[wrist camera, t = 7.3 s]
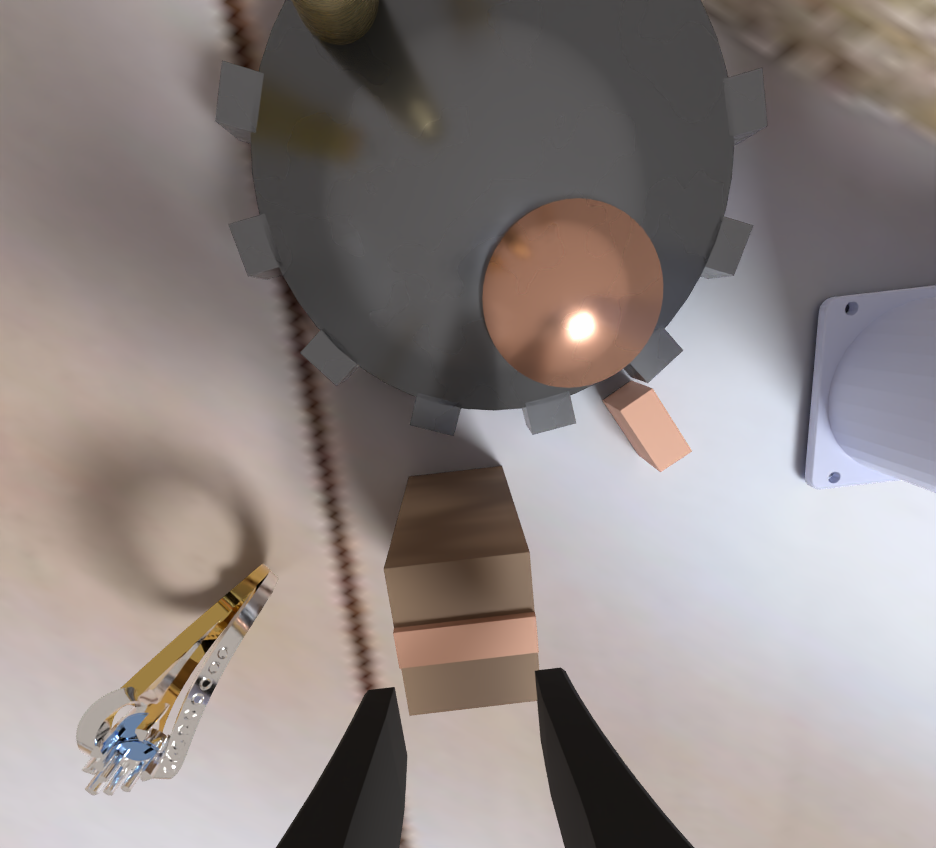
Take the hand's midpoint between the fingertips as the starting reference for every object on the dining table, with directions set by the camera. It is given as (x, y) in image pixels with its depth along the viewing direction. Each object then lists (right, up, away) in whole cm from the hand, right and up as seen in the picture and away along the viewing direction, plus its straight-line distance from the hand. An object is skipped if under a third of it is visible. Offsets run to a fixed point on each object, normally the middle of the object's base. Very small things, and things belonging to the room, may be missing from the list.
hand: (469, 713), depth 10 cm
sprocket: (+1, +15, +6) cm, 16 cm away
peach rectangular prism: (+7, +7, +8) cm, 13 cm away
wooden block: (0, +2, +9) cm, 10 cm away
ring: (-10, -1, +10) cm, 14 cm away
